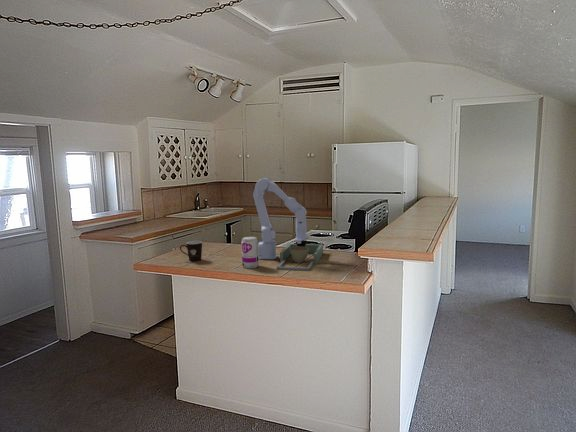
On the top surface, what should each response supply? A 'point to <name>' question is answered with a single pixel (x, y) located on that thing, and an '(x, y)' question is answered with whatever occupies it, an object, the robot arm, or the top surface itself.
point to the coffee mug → (193, 250)
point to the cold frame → (313, 249)
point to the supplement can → (249, 252)
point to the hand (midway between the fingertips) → (301, 253)
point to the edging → (294, 267)
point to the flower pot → (299, 253)
